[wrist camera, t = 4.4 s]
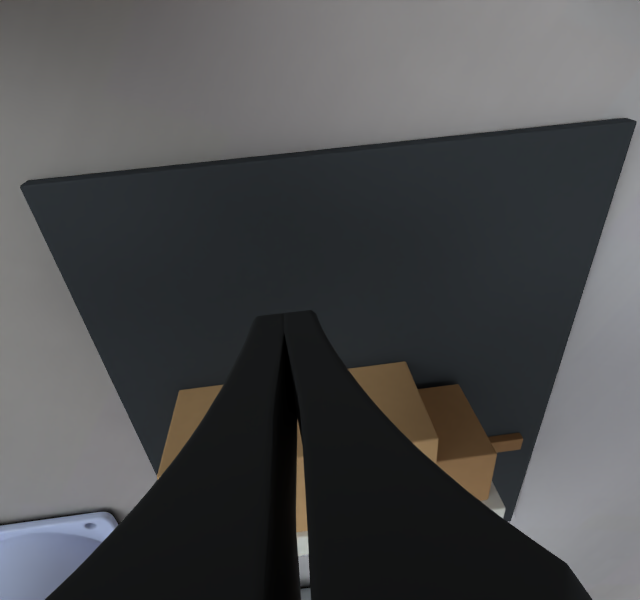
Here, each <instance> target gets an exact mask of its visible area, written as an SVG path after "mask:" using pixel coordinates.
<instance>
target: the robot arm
mask: <svg viewBox="0 0 640 600" xmlns="http://www.w3.org/2000/svg"><path fill="white" fill-rule="evenodd" d="M297 419H298V424H299V429H300V435H301V440H302V446H303V461H304V477H305V494H306V512H307V530H308V548H309V569H310V590H311V600H592V598H591V597H590V595H589V594H588V593H587V591H586V590H585V588H584V587H583V585H582V584H581V583H580V581H579V580H578V578H577V577H576V576H575V574H574V573H573V571H572V570H571V569H570V567H569V566H568V565H567V564H566V563H565V562H564V561H562V560H561V559H559V558H558V557H557V556H555V555H554V554H552V553H551V552H549V551H548V550H546V549H545V548H544V547H542V546H541V545H539V544H538V543H536V542H535V541H533V540H532V539H531V538H529V537H528V536H526V535H525V534H524V533H522V532H521V531H519V530H518V529H517V528H515V527H514V526H513V525H511V524H510V523H508V522H507V521H506V520H504V519H503V518H502V517H500V516H499V515H498V514H496V513H495V512H494V511H492V510H491V509H490V508H489V507H487V506H486V505H485V504H483V503H482V502H481V501H480V500H478V499H477V498H476V497H474V496H473V495H472V494H471V493H469V492H468V491H467V490H466V489H464V488H463V487H462V486H461V485H460V484H459V483H457V482H456V481H455V480H454V479H453V478H452V477H450V476H449V475H448V474H447V473H446V472H445V471H443V470H442V469H441V468H440V467H439V466H438V465H437V464H435V463H434V462H433V461H432V460H431V459H430V458H428V457H427V456H426V455H425V454H424V453H423V452H422V451H421V450H419V449H418V448H417V447H416V446H415V445H414V444H413V443H412V442H411V441H410V440H409V439H408V438H407V437H406V436H405V435H404V434H403V433H402V432H401V431H400V430H399V429H398V428H397V427H396V426H395V425H394V424H393V423H392V422H391V421H390V420H389V418H388V417H387V416H386V415H385V414H384V413H383V412H382V411H381V410H380V409H379V408H378V406H377V405H376V404H375V403H374V402H373V401H372V399H371V398H370V397H369V396H368V395H367V393H366V392H365V391H364V390H363V388H362V387H361V386H360V385H359V383H358V382H357V381H356V380H355V378H354V377H353V376H352V374H351V373H350V371H349V370H348V369H347V367H346V366H345V364H344V363H343V361H342V360H341V359H340V357H339V356H338V354H337V353H336V351H335V350H334V348H333V346H332V345H331V343H330V341H329V340H328V338H327V336H326V334H325V333H324V331H323V329H322V327H321V325H320V322H319V320H318V317H317V314H316V313H315V312H313V311H312V310H305V311H297V312H289V313H280V314H272V315H263V316H257V317H256V318H255V319H254V320H253V322H252V325H251V328H250V331H249V333H248V336H247V338H246V341H245V343H244V345H243V347H242V349H241V352H240V354H239V356H238V358H237V360H236V362H235V364H234V366H233V368H232V369H231V371H230V373H229V375H228V377H227V379H226V381H225V383H224V385H223V386H222V388H221V390H220V391H219V393H218V395H217V396H216V398H215V400H214V401H213V403H212V405H211V406H210V408H209V410H208V411H207V413H206V415H205V416H204V418H203V419H202V421H201V422H200V424H199V425H198V427H197V428H196V430H195V431H194V433H193V434H192V435H191V437H190V438H189V440H188V441H187V443H186V444H185V445H184V447H183V448H182V449H181V451H180V452H179V453H178V455H177V456H176V457H175V459H174V460H173V461H172V463H171V464H170V465H169V466H168V468H167V469H166V470H165V471H164V473H163V474H162V475H161V476H160V478H159V479H158V480H157V481H156V483H155V484H154V485H153V486H152V488H151V489H150V490H149V491H148V492H147V494H146V495H145V496H144V497H143V498H142V499H141V501H140V502H139V503H138V504H137V505H136V506H135V507H134V509H133V510H132V511H131V512H130V513H129V514H128V515H127V516H126V517H125V518H124V520H123V521H122V522H121V523H120V524H119V525H118V523H117V521H116V520H115V518H114V517H113V515H112V514H110V513H108V512H95V513H88V514H80V515H73V516H66V517H59V518H51V519H44V520H37V521H30V522H23V523H15V524H8V525H1V526H0V600H301V590H300V577H299V563H298V548H297V534H296V483H297Z"/></svg>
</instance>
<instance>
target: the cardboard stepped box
mask: <svg viewBox="0 0 640 600" xmlns="http://www.w3.org/2000/svg"><path fill="white" fill-rule="evenodd" d="M348 370H349V371H350V373H351V374H352V376H353V377H354V378H355V380H356V381H357V382H358V383H359V385H360V386H361V387H362V388H363V390H364V391H365V392H366V393H367V395H368V396H369V397H370V398H371V399H372V401H373V402H374V403H375V404H376V405H377V406H378V408H379V409H380V410H381V411H382V412H383V413H384V414H385V415H386V416H387V417H388V418H389V420H390V421H391V422H392V423H393V424H394V425H395V426H396V427H397V428H398V429H399V430H400V431H401V432H402V433H403V434H404V435H405V436H406V437H407V438H408V439H409V440H410V441H411V442H412V443H413V444H414V445H415V446H416V447H417V448H418V449H419V450H421V451H422V452H423V453H424V454H425V455H426V456H427V457H428V458H430V459H431V460H432V461H433V462H434V463H435V464H437V465H438V466H439V467H440V468H441V469H442V470H443V471H445V472H446V473H447V474H448V475H449V476H450V477H452V478H453V479H454V480H455V481H456V482H457V483H459V484H460V485H461V486H462V487H463V488H464V489H466V490H467V491H468V492H469V493H471V494H472V495H473V496H474V497H476V498H477V499H478V500H480V501H481V502H482V503H483V504H485V505H486V506H487V507H489V508H490V509H491V510H492V511H494V512H495V513H496V514H498V515H499V516H500V517H502V518H504V514H505V506H504V504H503V502H502V500H501V498H500V496H499V494H498V492H497V490H496V488H495V486H494V484H493V482H492V477H493V472H494V467H495V462H496V457H497V453H496V451H495V449H494V447H493V446H492V444H491V442H490V440H489V438H488V437H487V435H486V433H485V431H484V429H483V427H482V426H481V424H480V422H479V420H478V418H477V417H476V415H475V413H474V411H473V409H472V408H471V406H470V404H469V402H468V400H467V398H466V397H465V395H464V393H463V391H462V389H461V388H460V386H459V384H454V385H446V386H439V387H431V388H423V389H417V387H416V384H415V382H414V380H413V377H412V375H411V373H410V370H409V368H408V366H407V363H406V362H396V363H388V364H380V365H372V366H365V367H357V368H349V369H348ZM223 385H224V384H223ZM223 385H216V386H208V387H200V388H192V389H184V390H180V391H179V393H178V397H177V401H176V405H175V409H174V412H173V416H172V420H171V424H170V428H169V432H168V436H167V440H166V443H165V447H164V451H163V455H162V459H161V463H160V467H159V470H158V474H157V479H159V478H160V476H161V475H162V474H163V473H164V471H165V470H166V469H167V468H168V466H169V465H170V464H171V463H172V461H173V460H174V459H175V457H176V456H177V455H178V453H179V452H180V451H181V449H182V448H183V447H184V445H185V444H186V443H187V441H188V440H189V438H190V437H191V435H192V434H193V433H194V431H195V430H196V428H197V427H198V425H199V424H200V422H201V421H202V419H203V418H204V416H205V415H206V413H207V411H208V410H209V408H210V406H211V405H212V403H213V401H214V400H215V398H216V396H217V395H218V393H219V391H220V390H221V388H222V386H223ZM296 534H297V548H298V556H304V555H309V548H308V530H307V512H306V494H305V477H304V461H303V446H302V440H301V435H300V429H299V424H298V419H297V483H296Z"/></svg>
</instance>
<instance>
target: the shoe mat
mask: <svg viewBox="0 0 640 600" xmlns="http://www.w3.org/2000/svg"><path fill="white" fill-rule="evenodd" d="M635 125H636V121H634V120H631V119H628V118H621V119H612V120H602V121H592V122H583V123H573V124H564V125H554V126H545V127H535V128H526V129H516V130H506V131H497V132H487V133H478V134H468V135H459V136H449V137H440V138H430V139H421V140H411V141H401V142H392V143H382V144H373V145H363V146H354V147H344V148H335V149H325V150H316V151H306V152H296V153H287V154H277V155H268V156H258V157H249V158H239V159H230V160H220V161H211V162H201V163H191V164H182V165H172V166H163V167H153V168H144V169H134V170H125V171H115V172H105V173H96V174H86V175H77V176H67V177H58V178H48V179H39V180H29V181H26V182H25V183H24V184H22V185H21V186H20V188H21V190H22V192H23V194H24V196H25V198H26V201H27V203H28V205H29V207H30V209H31V211H32V213H33V215H34V217H35V219H36V222H37V224H38V226H39V228H40V230H41V232H42V234H43V236H44V238H45V241H46V243H47V245H48V247H49V249H50V251H51V253H52V255H53V257H54V260H55V262H56V264H57V266H58V268H59V270H60V272H61V274H62V276H63V279H64V281H65V283H66V285H67V287H68V289H69V291H70V293H71V295H72V298H73V300H74V302H75V304H76V306H77V308H78V310H79V312H80V314H81V317H82V319H83V321H84V323H85V325H86V327H87V329H88V331H89V333H90V336H91V338H92V340H93V342H94V344H95V346H96V348H97V350H98V352H99V355H100V357H101V359H102V361H103V363H104V365H105V367H106V369H107V371H108V374H109V376H110V378H111V380H112V382H113V384H114V386H115V388H116V390H117V393H118V395H119V397H120V399H121V401H122V403H123V405H124V407H125V409H126V412H127V414H128V416H129V418H130V420H131V422H132V424H133V426H134V428H135V431H136V433H137V435H138V437H139V439H140V441H141V443H142V445H143V447H144V450H145V452H146V454H147V456H148V458H149V460H150V462H151V464H152V466H153V469H154V471H155V473H156V475H157V474H158V470H159V467H160V463H161V459H162V455H163V451H164V447H165V443H166V440H167V436H168V432H169V428H170V424H171V420H172V416H173V412H174V409H175V405H176V401H177V397H178V393H179V391H180V390H184V389H192V388H200V387H208V386H216V385H223V384H224V383H225V381H226V379H227V377H228V375H229V373H230V371H231V369H232V368H233V366H234V364H235V362H236V360H237V358H238V356H239V354H240V352H241V349H242V347H243V345H244V343H245V341H246V338H247V336H248V333H249V331H250V328H251V325H252V322H253V320H254V319H255V318H256V317H257V316H263V315H272V314H280V313H289V312H297V311H305V310H312V311H313V312H315V313H316V314H317V317H318V320H319V322H320V325H321V327H322V329H323V331H324V333H325V334H326V336H327V338H328V340H329V341H330V343H331V345H332V346H333V348H334V350H335V351H336V353H337V354H338V356H339V357H340V359H341V360H342V361H343V363H344V364H345V366H346V367H347V369H349V368H357V367H365V366H372V365H380V364H388V363H396V362H406V363H407V366H408V368H409V370H410V373H411V375H412V377H413V380H414V382H415V384H416V387H417V389H423V388H431V387H439V386H446V385H454V384H459V386H460V388H461V389H462V391H463V393H464V395H465V397H466V398H467V400H468V402H469V404H470V406H471V408H472V409H473V411H474V413H475V415H476V417H477V418H478V420H479V422H480V424H481V426H482V427H483V429H484V431H485V433H486V435H487V437H488V438H489V440H490V442H491V444H492V446H493V447H494V449H495V451H496V453H497V457H496V462H495V467H494V472H493V477H492V482H493V484H494V486H495V488H496V490H497V492H498V494H499V496H500V498H501V500H502V502H503V504H504V506H505V514H504V518H503V519H504V520H506V521H511V518H512V515H513V512H514V509H515V505H516V502H517V499H518V496H519V493H520V490H521V486H522V483H523V480H524V477H525V474H526V470H527V467H528V464H529V461H530V458H531V455H532V451H533V448H534V445H535V442H536V439H537V436H538V432H539V429H540V426H541V423H542V420H543V417H544V413H545V410H546V407H547V404H548V401H549V398H550V394H551V391H552V388H553V385H554V382H555V379H556V375H557V372H558V369H559V366H560V363H561V360H562V356H563V353H564V350H565V347H566V344H567V341H568V337H569V334H570V331H571V328H572V325H573V322H574V318H575V315H576V312H577V309H578V306H579V303H580V299H581V296H582V293H583V290H584V287H585V284H586V280H587V277H588V274H589V271H590V268H591V265H592V261H593V258H594V255H595V252H596V249H597V246H598V242H599V239H600V236H601V233H602V230H603V227H604V223H605V220H606V217H607V214H608V211H609V208H610V204H611V201H612V198H613V195H614V192H615V189H616V185H617V182H618V179H619V176H620V173H621V170H622V166H623V163H624V160H625V157H626V154H627V151H628V147H629V144H630V141H631V138H632V135H633V132H634V128H635Z"/></svg>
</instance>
